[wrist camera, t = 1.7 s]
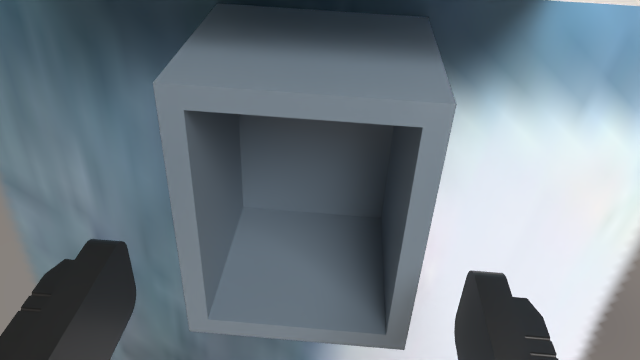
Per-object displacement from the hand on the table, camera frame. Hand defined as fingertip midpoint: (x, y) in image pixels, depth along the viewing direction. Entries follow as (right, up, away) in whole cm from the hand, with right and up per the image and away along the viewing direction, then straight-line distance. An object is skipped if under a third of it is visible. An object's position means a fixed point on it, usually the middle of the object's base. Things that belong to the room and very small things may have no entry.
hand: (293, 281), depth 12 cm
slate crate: (+1, +4, +6) cm, 7 cm away
